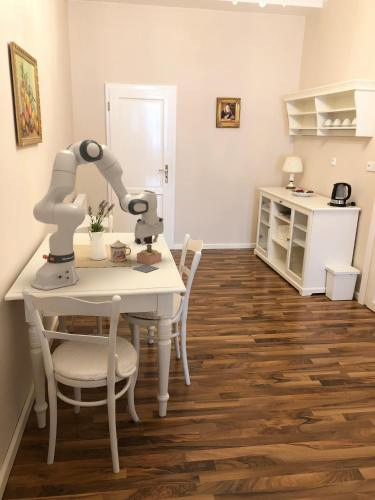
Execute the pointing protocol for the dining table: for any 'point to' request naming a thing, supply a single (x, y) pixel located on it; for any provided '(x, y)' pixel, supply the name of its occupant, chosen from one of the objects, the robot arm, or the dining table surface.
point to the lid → (149, 251)
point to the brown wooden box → (146, 239)
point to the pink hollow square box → (149, 258)
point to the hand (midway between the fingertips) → (149, 243)
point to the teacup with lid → (119, 251)
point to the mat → (145, 268)
